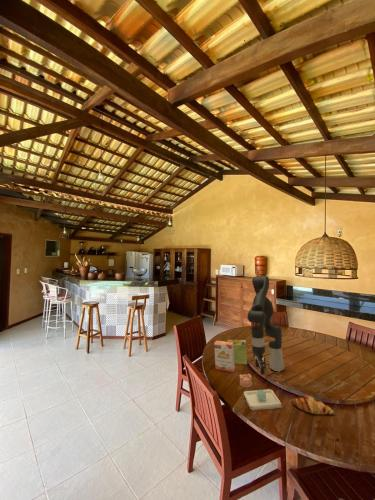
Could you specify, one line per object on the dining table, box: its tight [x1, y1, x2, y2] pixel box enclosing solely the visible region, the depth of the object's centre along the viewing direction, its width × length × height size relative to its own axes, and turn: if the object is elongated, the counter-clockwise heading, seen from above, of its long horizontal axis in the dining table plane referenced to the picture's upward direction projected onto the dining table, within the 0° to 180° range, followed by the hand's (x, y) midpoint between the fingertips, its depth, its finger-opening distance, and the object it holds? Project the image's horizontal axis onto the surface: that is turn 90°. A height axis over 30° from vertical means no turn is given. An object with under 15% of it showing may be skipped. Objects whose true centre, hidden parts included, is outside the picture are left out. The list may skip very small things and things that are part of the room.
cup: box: [239, 373, 253, 388], centre depth 157 cm, size 8×8×5 cm
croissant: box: [290, 395, 334, 415], centre depth 129 cm, size 21×10×8 cm, turn 63°
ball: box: [257, 389, 266, 401], centre depth 138 cm, size 6×6×6 cm
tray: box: [243, 388, 283, 411], centre depth 138 cm, size 18×14×2 cm
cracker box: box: [213, 340, 236, 373], centre depth 178 cm, size 14×6×21 cm, turn 65°
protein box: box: [227, 339, 248, 365], centre depth 190 cm, size 10×15×16 cm
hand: (260, 370), depth 139 cm, fingers open, 8 cm apart
